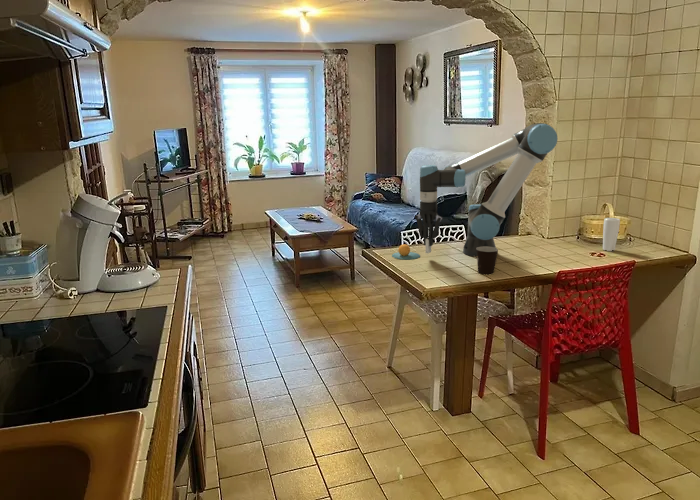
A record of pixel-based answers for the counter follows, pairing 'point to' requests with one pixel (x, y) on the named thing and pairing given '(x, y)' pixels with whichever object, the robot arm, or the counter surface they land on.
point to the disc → (408, 257)
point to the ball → (404, 250)
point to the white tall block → (610, 233)
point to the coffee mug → (486, 259)
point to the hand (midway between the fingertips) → (428, 252)
